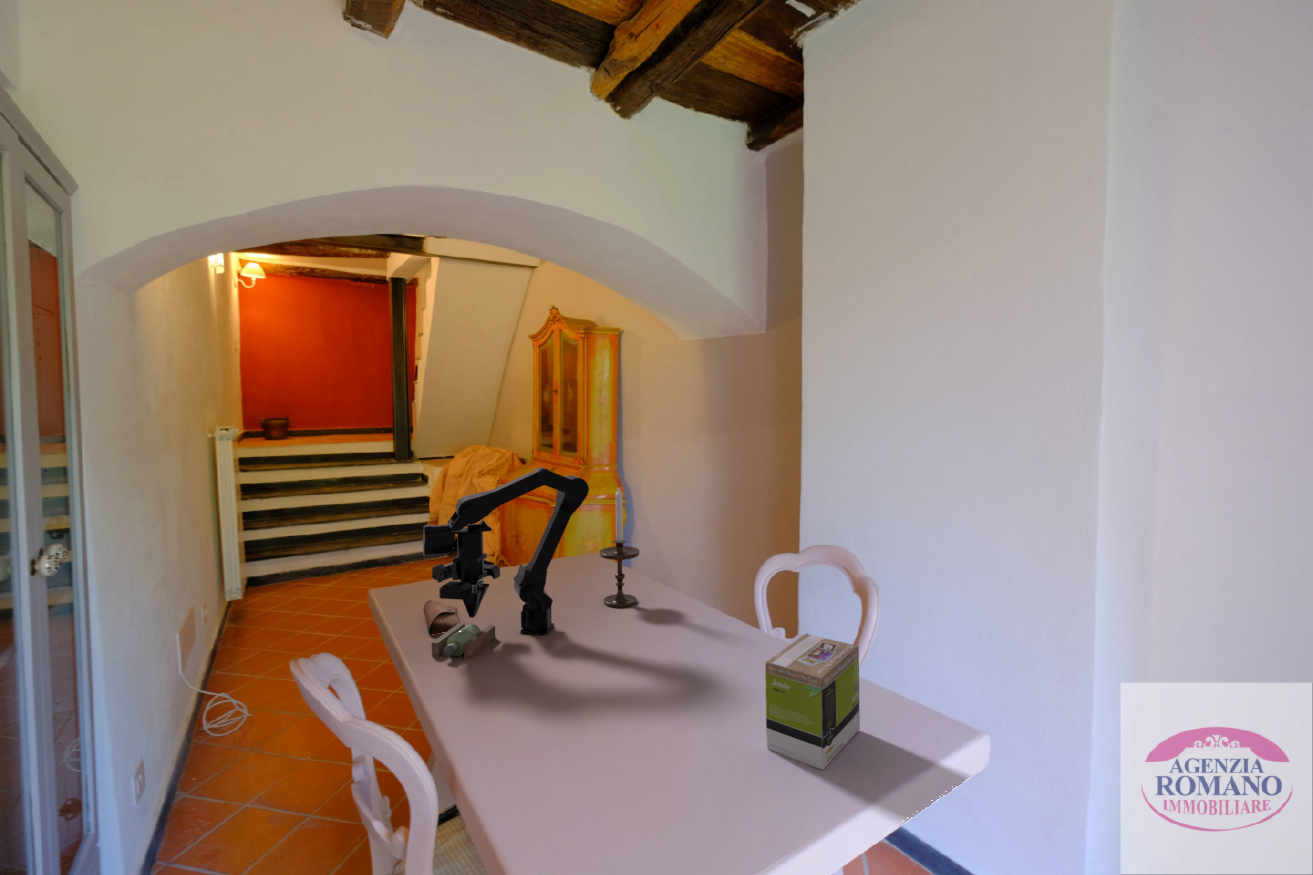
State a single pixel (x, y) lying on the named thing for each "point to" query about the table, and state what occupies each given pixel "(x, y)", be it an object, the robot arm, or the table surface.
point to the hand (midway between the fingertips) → (472, 617)
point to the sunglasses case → (440, 617)
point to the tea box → (812, 699)
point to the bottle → (460, 640)
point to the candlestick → (619, 559)
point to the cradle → (471, 646)
